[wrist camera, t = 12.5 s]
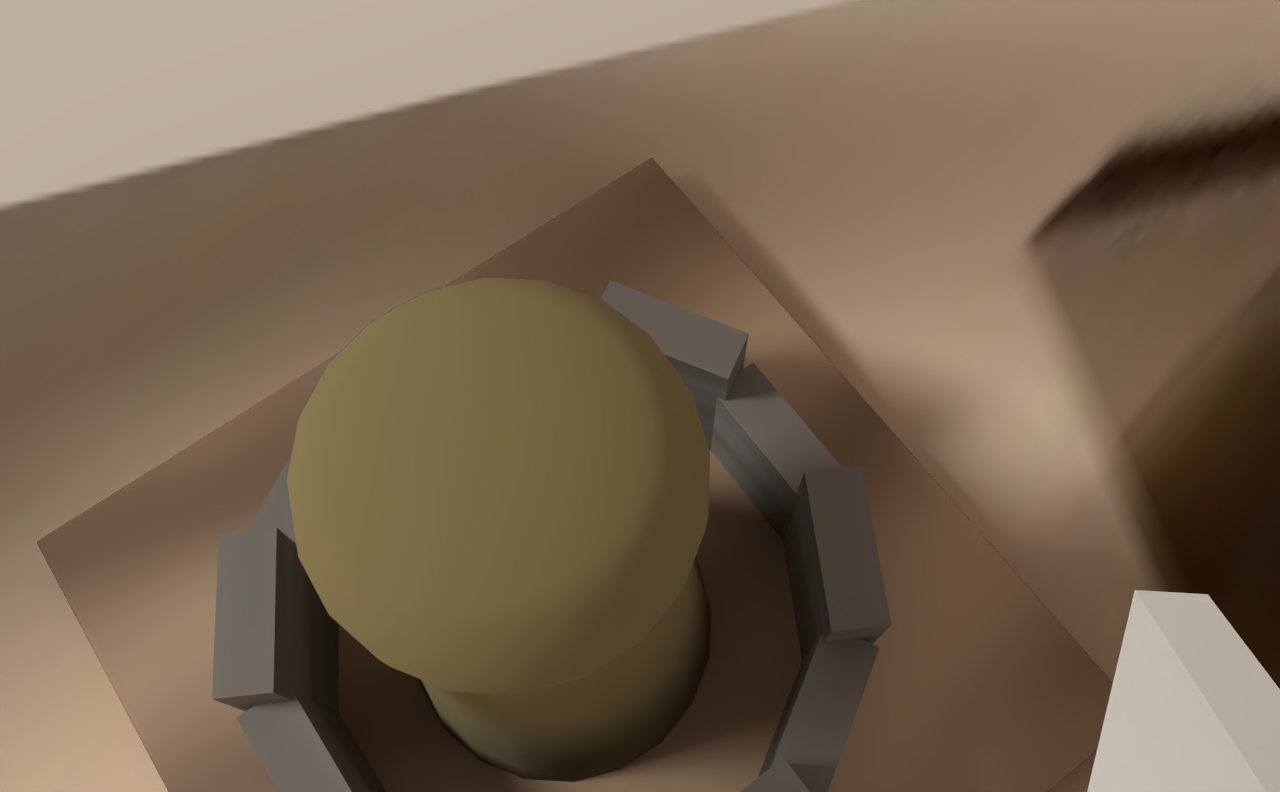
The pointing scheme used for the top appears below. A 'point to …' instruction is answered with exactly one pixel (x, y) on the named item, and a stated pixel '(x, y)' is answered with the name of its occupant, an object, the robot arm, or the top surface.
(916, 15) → the top surface
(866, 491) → the collar
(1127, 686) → the robot arm
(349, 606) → the cork
